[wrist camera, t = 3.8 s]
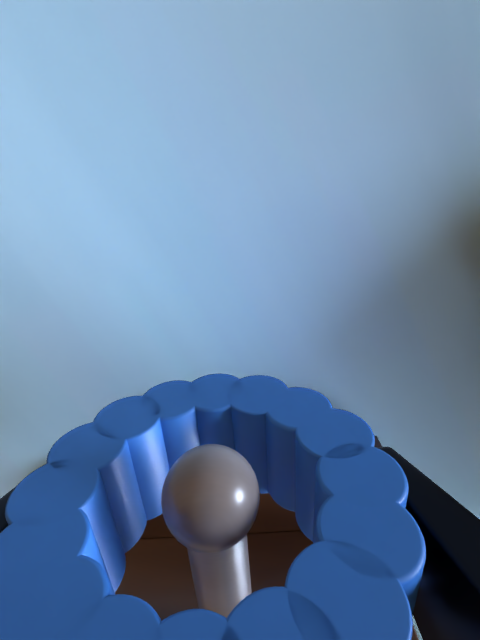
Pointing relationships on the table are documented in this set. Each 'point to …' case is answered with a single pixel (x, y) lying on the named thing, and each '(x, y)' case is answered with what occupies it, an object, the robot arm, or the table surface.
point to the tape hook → (212, 537)
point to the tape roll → (145, 503)
